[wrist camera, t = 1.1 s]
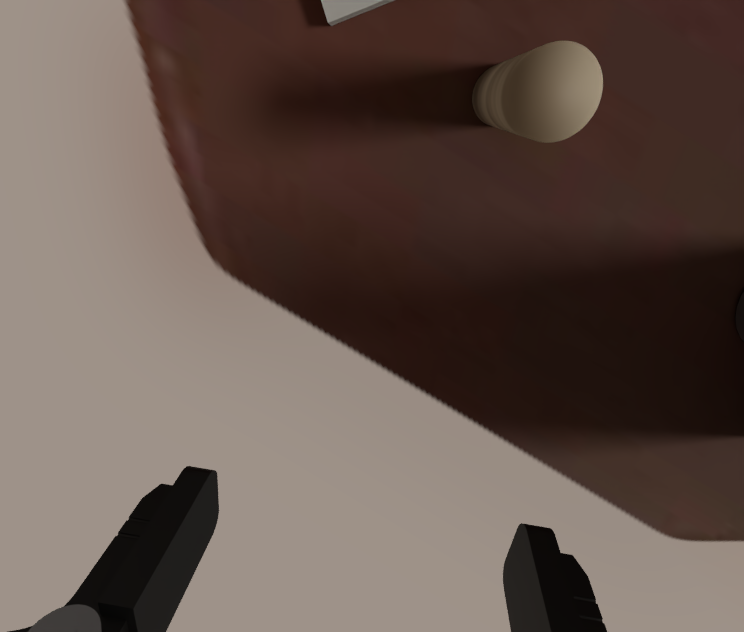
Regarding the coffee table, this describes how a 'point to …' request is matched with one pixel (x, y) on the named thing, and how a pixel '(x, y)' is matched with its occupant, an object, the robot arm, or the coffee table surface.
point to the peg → (541, 92)
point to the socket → (348, 8)
